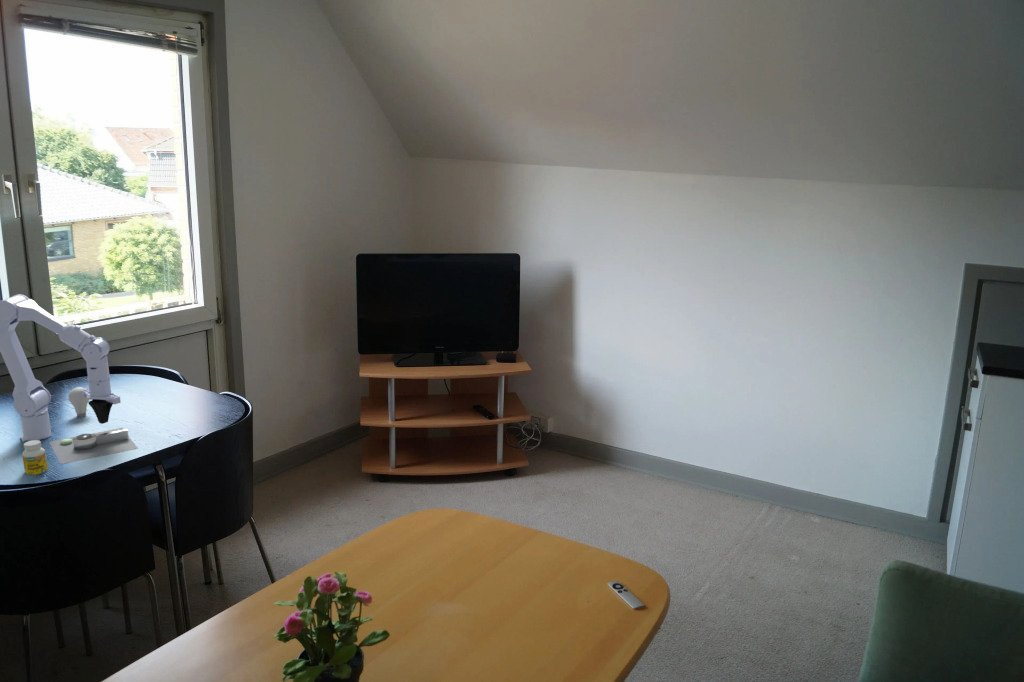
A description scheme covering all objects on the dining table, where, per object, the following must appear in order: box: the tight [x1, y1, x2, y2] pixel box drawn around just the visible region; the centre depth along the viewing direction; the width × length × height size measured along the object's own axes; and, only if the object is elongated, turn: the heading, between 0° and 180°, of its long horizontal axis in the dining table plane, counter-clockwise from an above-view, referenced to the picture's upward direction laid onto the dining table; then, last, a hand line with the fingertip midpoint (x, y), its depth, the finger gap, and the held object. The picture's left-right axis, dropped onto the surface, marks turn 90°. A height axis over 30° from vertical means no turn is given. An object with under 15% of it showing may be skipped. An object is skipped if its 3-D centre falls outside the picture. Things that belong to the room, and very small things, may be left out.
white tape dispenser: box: [73, 428, 130, 450], centre depth 234 cm, size 14×6×3 cm, turn 128°
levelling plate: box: [48, 427, 139, 465], centre depth 233 cm, size 20×20×2 cm
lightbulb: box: [67, 386, 90, 418], centre depth 256 cm, size 6×6×11 cm
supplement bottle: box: [21, 440, 49, 476], centre depth 215 cm, size 5×5×10 cm
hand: (103, 422), depth 240 cm, fingers closed
